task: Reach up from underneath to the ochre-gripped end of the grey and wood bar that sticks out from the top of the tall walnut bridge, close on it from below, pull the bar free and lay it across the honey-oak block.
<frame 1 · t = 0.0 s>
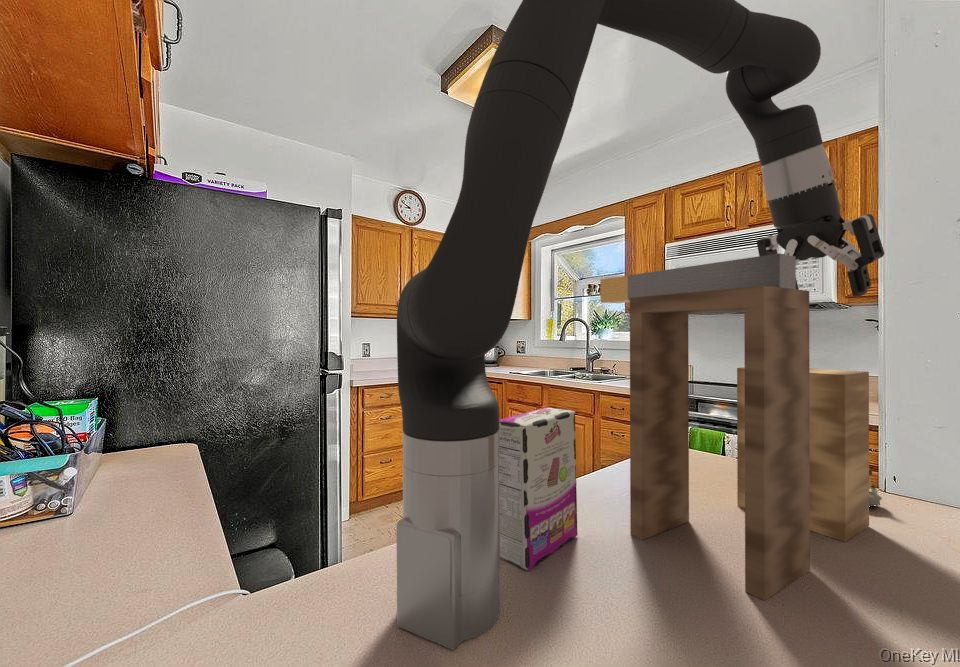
hand: (825, 297, 61), 31 cm above the countertop, tool tilted 20°, fingers open, 8 cm apart
grey and wood bar: (681, 297, 54), point 31 cm above the countertop, touching walnut bridge
walnut bridge: (712, 550, 51), on the countertop
candy bar box: (537, 548, 52), on the countertop
oak block: (799, 515, 60), on the countertop
figurine: (861, 507, 64), on the countertop
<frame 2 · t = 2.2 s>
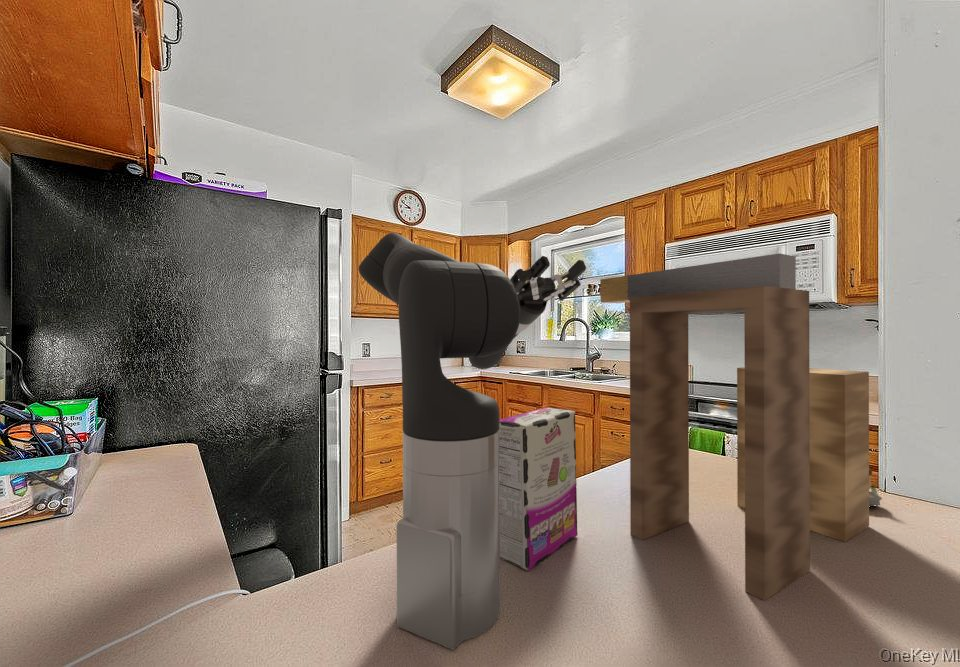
hand: (565, 261, 75), 39 cm above the countertop, tool pointing upward, fingers open, 8 cm apart
nothing on the countertop moved.
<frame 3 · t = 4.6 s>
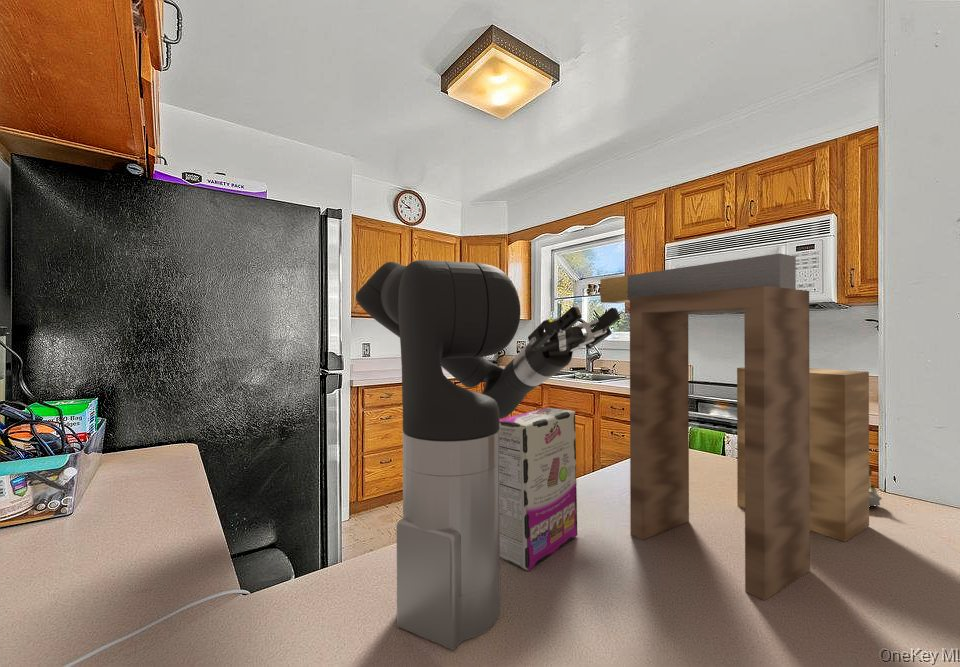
hand: (598, 311, 66), 30 cm above the countertop, tool pointing upward, fingers open, 8 cm apart
nothing on the countertop moved.
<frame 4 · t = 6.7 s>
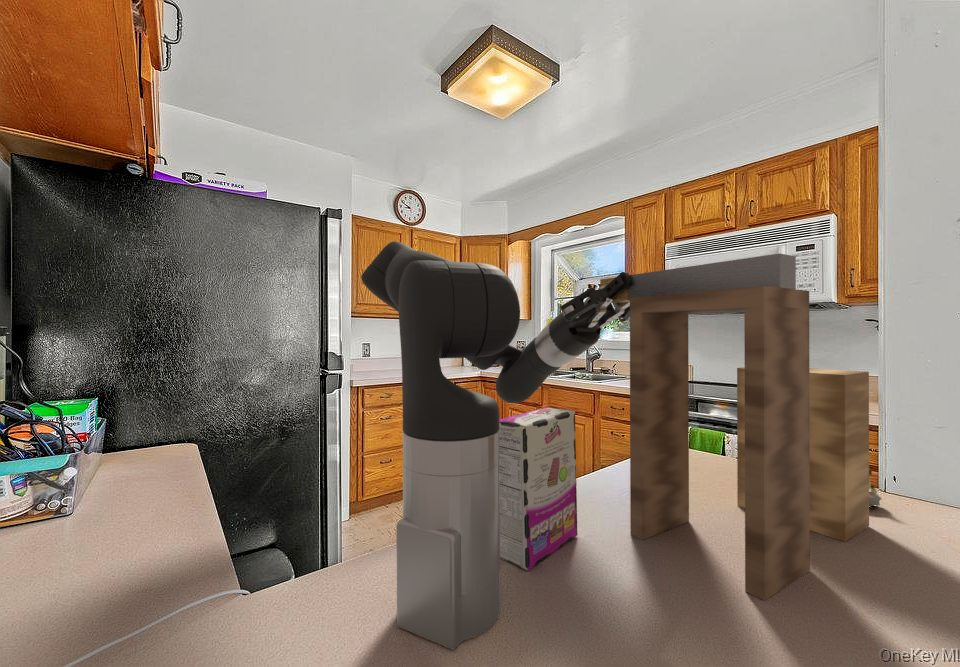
hand: (638, 278, 60), 34 cm above the countertop, tool pointing upward, fingers closed on grey and wood bar, 3 cm apart
grey and wood bar: (681, 297, 54), point 31 cm above the countertop, touching gripper, walnut bridge
everything else where it was.
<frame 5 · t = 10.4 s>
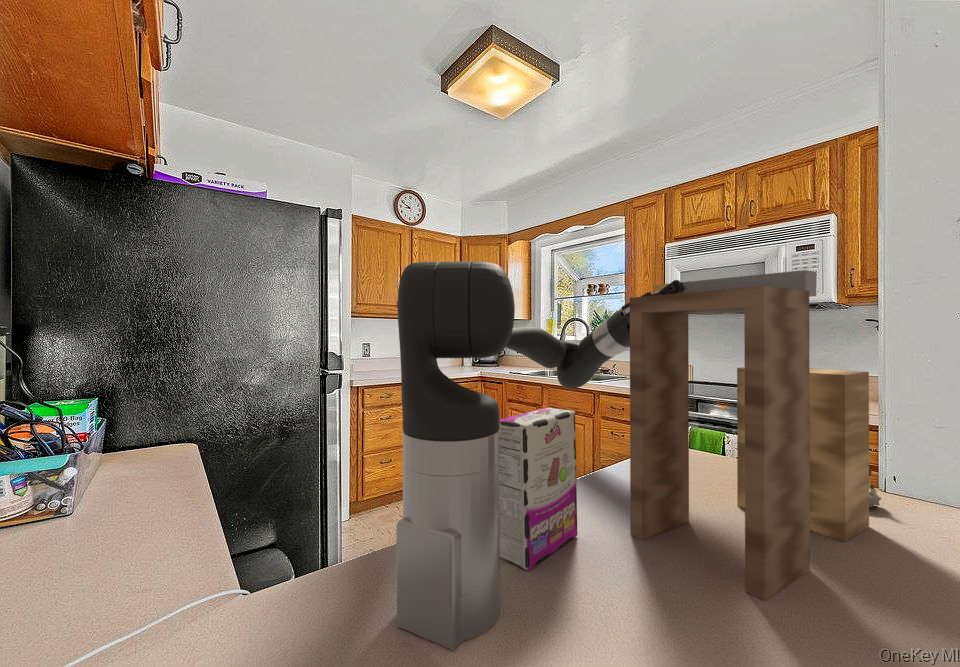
hand: (686, 284, 75), 35 cm above the countertop, tool pointing upward, fingers closed on grey and wood bar, 3 cm apart
grey and wood bar: (724, 300, 69), point 32 cm above the countertop, touching gripper
everything else where it was.
when the fingers open (26 cm above the countertop, at t = 14.0 s): grey and wood bar drops 2 cm, resting on oak block.
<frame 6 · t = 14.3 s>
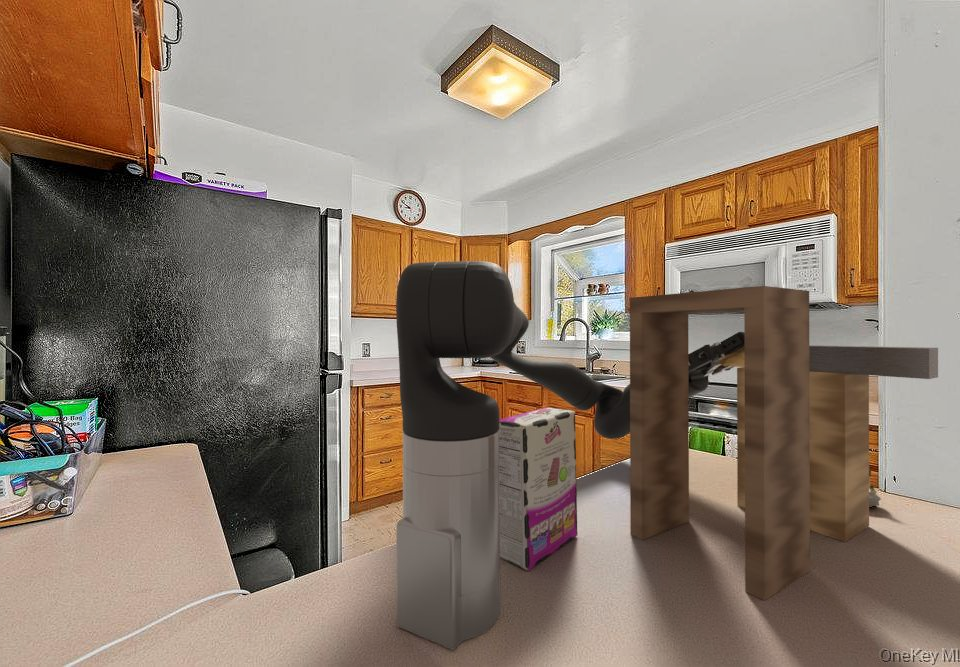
hand: (757, 336, 65), 26 cm above the countertop, tool pointing upward, fingers open, 6 cm apart
grey and wood bar: (810, 370, 59), point 21 cm above the countertop, touching oak block
everything else where it was.
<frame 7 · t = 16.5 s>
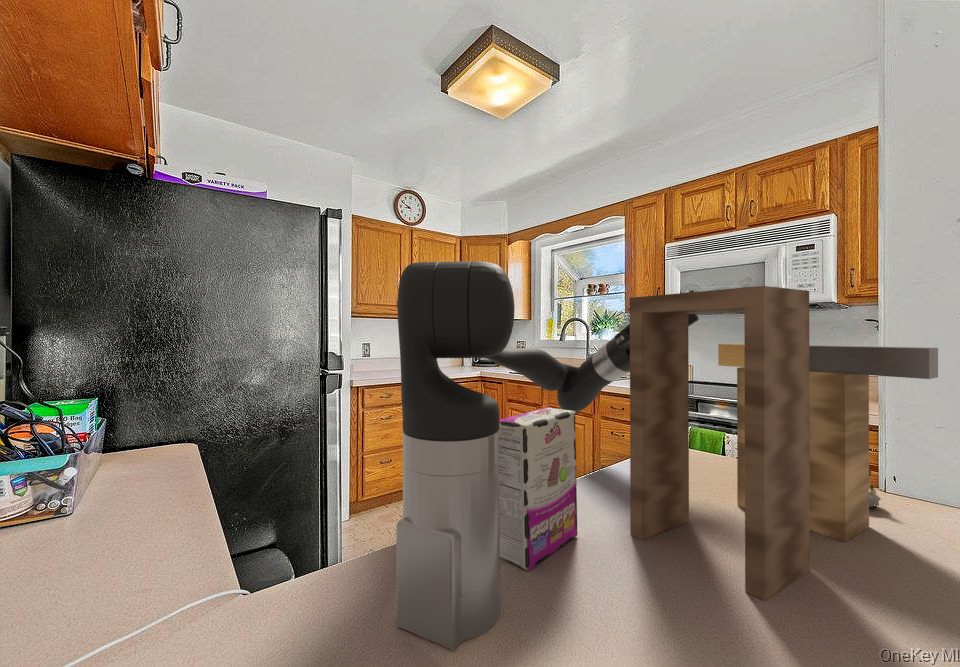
hand: (681, 313, 75), 30 cm above the countertop, tool pointing upward, fingers open, 8 cm apart
nothing on the countertop moved.
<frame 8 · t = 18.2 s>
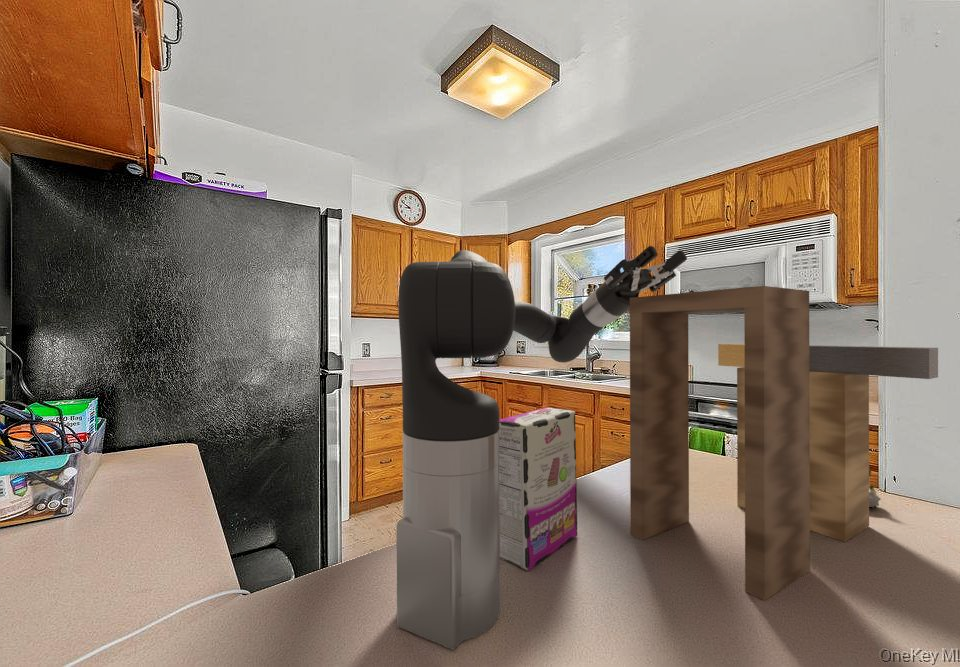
hand: (669, 252, 76), 41 cm above the countertop, tool pointing upward, fingers open, 8 cm apart
nothing on the countertop moved.
at the end: grey and wood bar 1.4 cm from the oak block (horizontally); grey and wood bar point 21.0 cm above the countertop; the gripper is holding nothing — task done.
